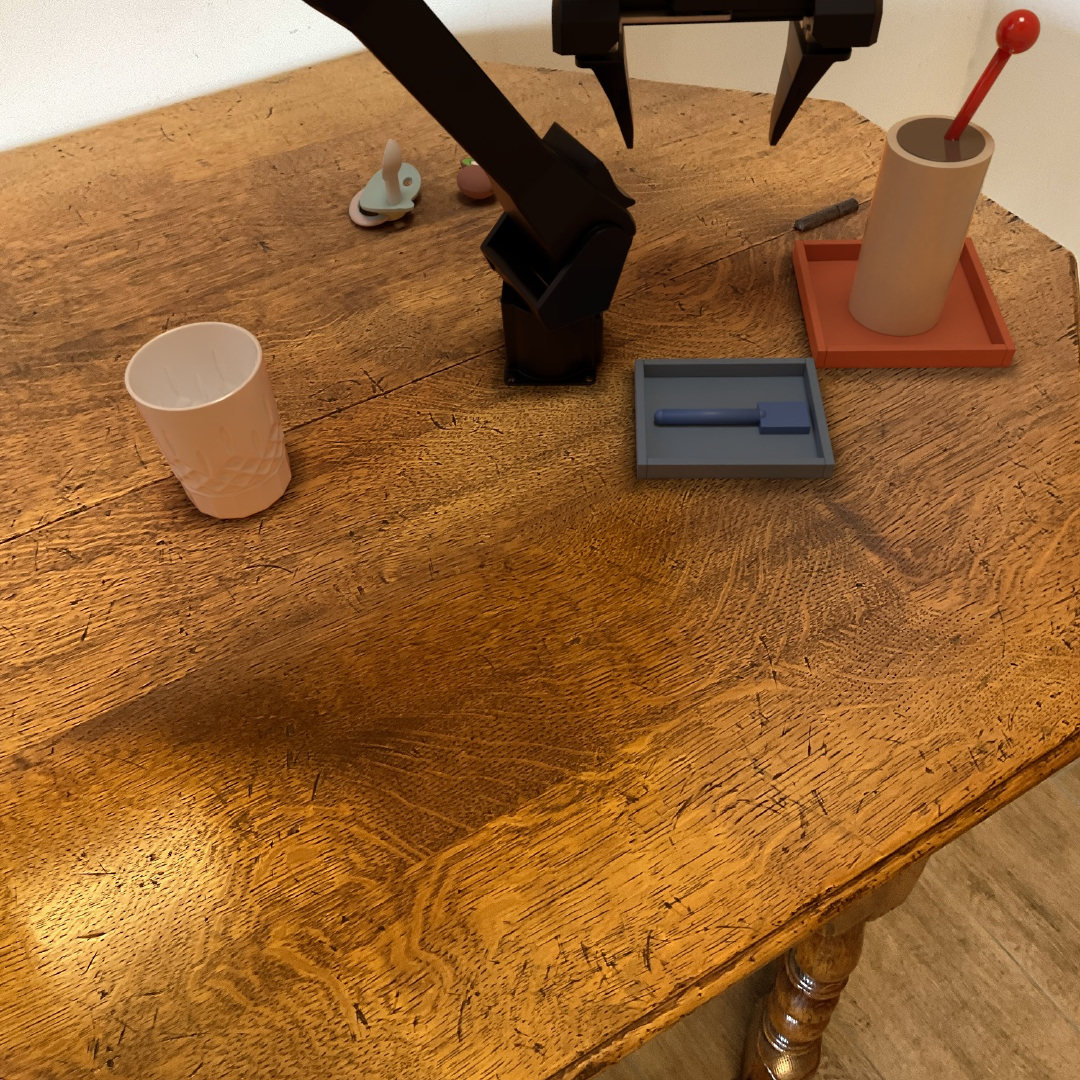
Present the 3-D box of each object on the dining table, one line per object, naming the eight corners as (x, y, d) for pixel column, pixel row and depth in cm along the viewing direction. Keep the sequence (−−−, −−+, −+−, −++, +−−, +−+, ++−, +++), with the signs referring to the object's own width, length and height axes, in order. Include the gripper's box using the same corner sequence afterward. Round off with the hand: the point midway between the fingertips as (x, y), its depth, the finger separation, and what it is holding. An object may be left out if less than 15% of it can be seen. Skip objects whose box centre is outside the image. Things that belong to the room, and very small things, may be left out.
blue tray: (636, 483, 64) (637, 464, 63) (634, 377, 70) (634, 358, 69) (830, 483, 63) (835, 464, 62) (809, 376, 70) (813, 357, 68)
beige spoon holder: (866, 342, 71) (942, 48, 55) (835, 287, 75) (897, -1, 59) (968, 328, 71) (1072, 32, 56) (931, 274, 76) (1018, -15, 60)
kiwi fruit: (522, 182, 87) (520, 154, 85) (486, 210, 84) (483, 182, 82) (472, 165, 89) (470, 137, 87) (436, 192, 87) (432, 164, 85)
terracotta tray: (813, 373, 70) (818, 350, 68) (791, 262, 78) (795, 239, 77) (1007, 371, 69) (1016, 349, 67) (963, 259, 77) (971, 237, 76)
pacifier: (342, 234, 84) (412, 234, 83) (324, 165, 79) (398, 164, 78) (361, 187, 88) (427, 186, 88) (345, 119, 84) (414, 117, 83)
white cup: (197, 544, 62) (141, 428, 55) (167, 466, 67) (111, 348, 59) (317, 498, 64) (279, 379, 57) (279, 425, 69) (239, 306, 61)
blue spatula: (654, 434, 66) (654, 423, 65) (653, 409, 67) (653, 398, 67) (809, 434, 65) (811, 423, 64) (804, 409, 67) (807, 397, 66)
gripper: (875, -186, 58) (828, 82, 70) (553, -172, 59) (561, 89, 71) (913, -119, 51) (853, 166, 63) (546, -105, 52) (556, 172, 64)
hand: (700, 144), depth 65 cm, fingers open, 9 cm apart
